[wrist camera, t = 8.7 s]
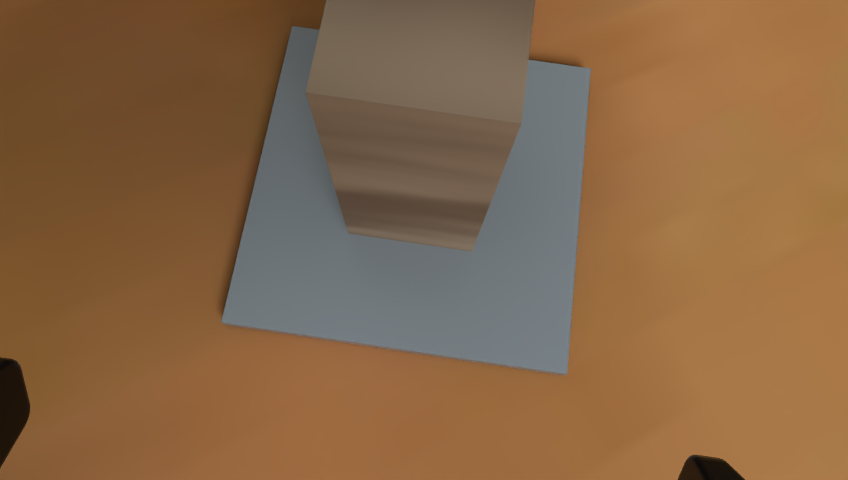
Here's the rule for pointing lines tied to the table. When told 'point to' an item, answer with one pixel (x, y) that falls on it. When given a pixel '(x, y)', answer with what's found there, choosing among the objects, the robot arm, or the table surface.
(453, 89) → the walnut pillar
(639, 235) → the table surface
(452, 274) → the slate coaster
